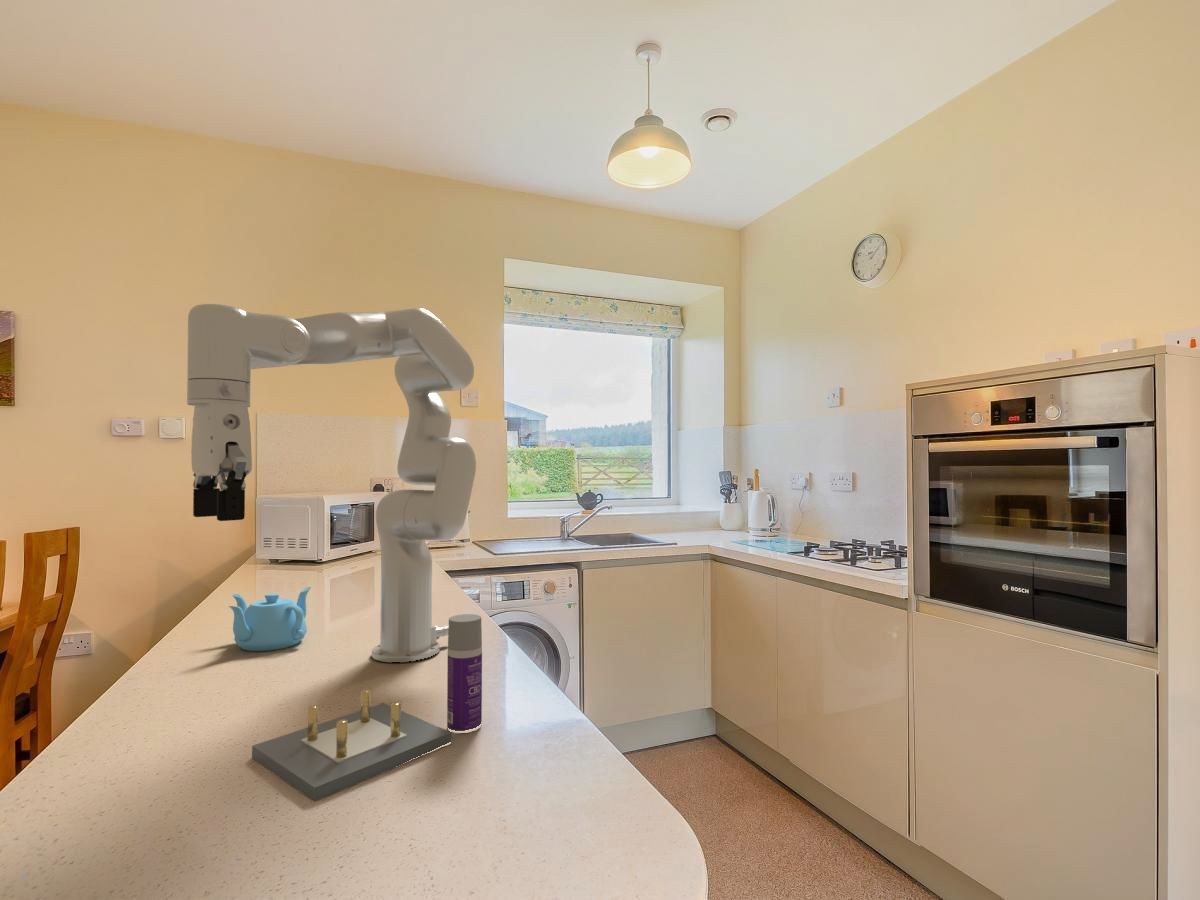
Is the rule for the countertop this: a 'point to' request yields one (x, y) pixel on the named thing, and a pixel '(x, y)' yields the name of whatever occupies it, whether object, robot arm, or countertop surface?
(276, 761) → the plate
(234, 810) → the countertop surface
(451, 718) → the container
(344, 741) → the standoffs
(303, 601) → the teapot
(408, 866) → the countertop surface
